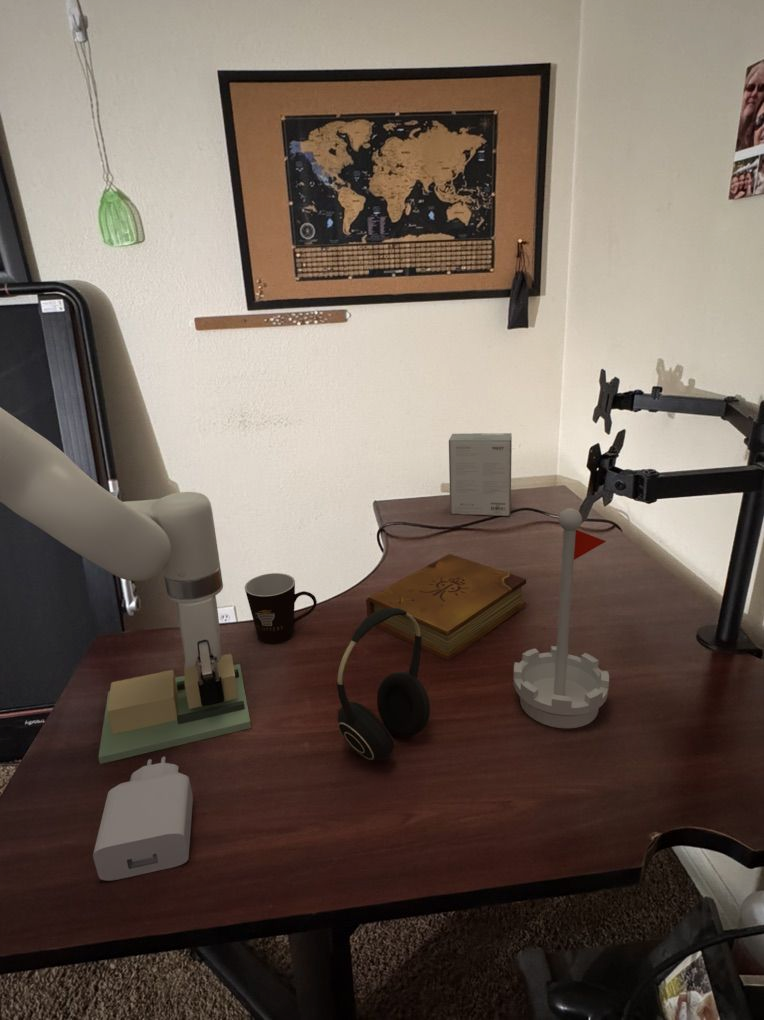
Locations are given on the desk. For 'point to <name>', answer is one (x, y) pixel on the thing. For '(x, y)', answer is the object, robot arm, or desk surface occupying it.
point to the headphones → (384, 700)
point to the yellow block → (224, 671)
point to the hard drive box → (480, 473)
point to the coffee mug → (274, 606)
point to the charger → (145, 823)
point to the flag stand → (563, 654)
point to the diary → (449, 604)
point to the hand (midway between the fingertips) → (211, 688)
